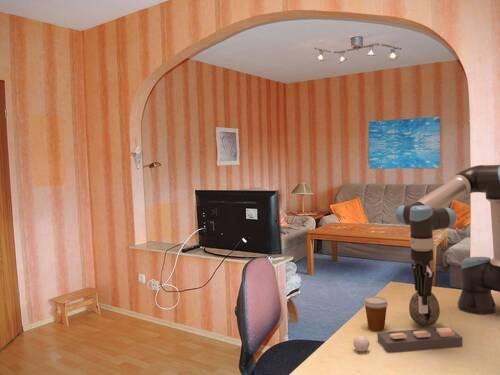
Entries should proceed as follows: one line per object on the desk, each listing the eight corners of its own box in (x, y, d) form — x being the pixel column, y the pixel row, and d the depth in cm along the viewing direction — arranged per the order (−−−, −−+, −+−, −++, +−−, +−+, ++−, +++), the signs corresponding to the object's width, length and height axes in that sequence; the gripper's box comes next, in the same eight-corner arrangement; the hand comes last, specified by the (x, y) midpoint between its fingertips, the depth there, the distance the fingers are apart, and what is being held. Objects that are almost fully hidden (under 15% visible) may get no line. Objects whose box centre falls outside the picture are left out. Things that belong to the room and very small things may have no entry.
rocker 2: (448, 329, 165) (448, 327, 165) (454, 336, 161) (454, 333, 161) (435, 330, 165) (436, 328, 164) (441, 337, 161) (441, 334, 160)
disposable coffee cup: (389, 333, 175) (389, 304, 174) (365, 332, 177) (364, 303, 176) (387, 324, 184) (386, 296, 184) (363, 323, 186) (363, 295, 185)
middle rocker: (425, 333, 164) (425, 330, 164) (430, 336, 160) (430, 333, 160) (412, 334, 164) (412, 331, 164) (417, 337, 160) (417, 334, 160)
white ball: (366, 355, 157) (366, 340, 157) (351, 352, 160) (351, 337, 160) (373, 347, 164) (372, 332, 163) (358, 344, 167) (357, 329, 166)
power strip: (448, 335, 171) (447, 326, 170) (462, 346, 161) (462, 336, 160) (377, 341, 168) (377, 332, 168) (387, 352, 159) (387, 342, 158)
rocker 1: (402, 335, 163) (402, 332, 164) (406, 337, 160) (406, 334, 160) (389, 336, 163) (388, 333, 163) (393, 338, 159) (393, 335, 159)
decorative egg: (407, 320, 188) (406, 285, 187) (436, 320, 186) (435, 285, 185) (412, 330, 177) (411, 294, 176) (443, 331, 174) (442, 294, 173)
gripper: (403, 245, 165) (405, 307, 167) (420, 253, 152) (421, 320, 154) (423, 244, 165) (424, 305, 167) (441, 252, 152) (442, 318, 154)
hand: (423, 312), depth 160 cm, fingers closed
